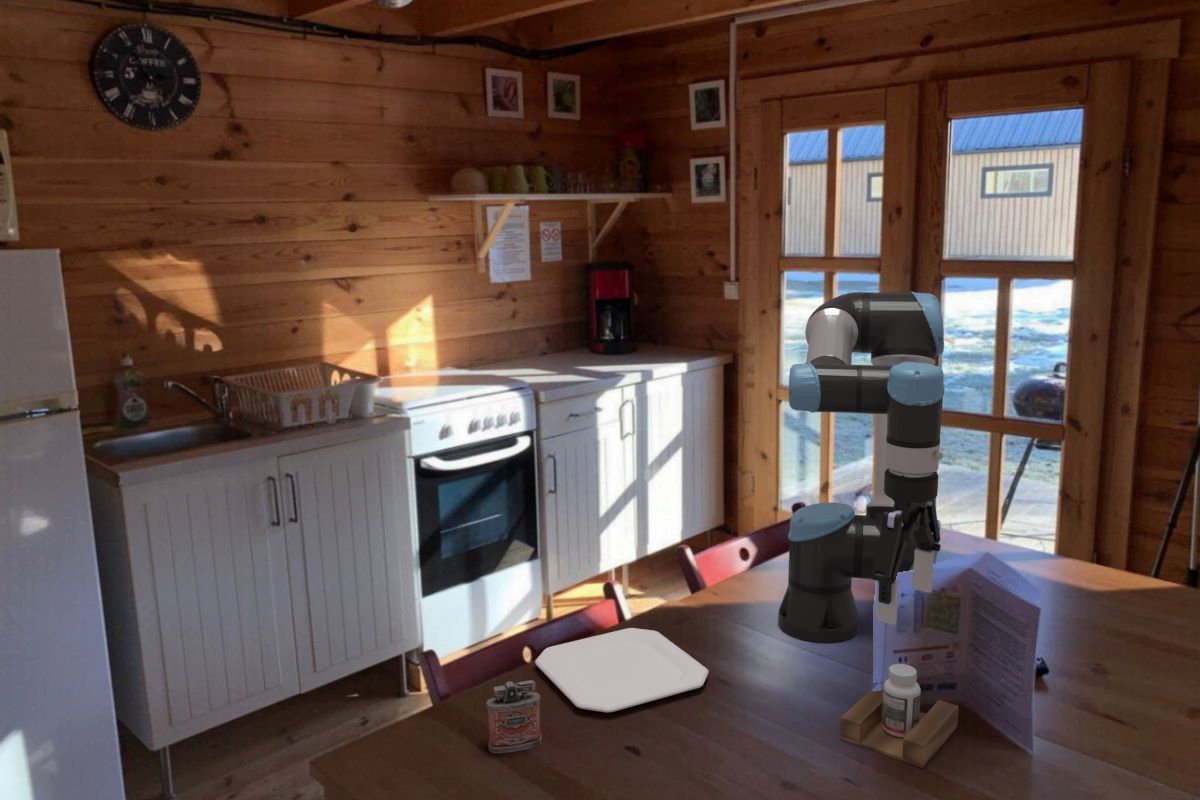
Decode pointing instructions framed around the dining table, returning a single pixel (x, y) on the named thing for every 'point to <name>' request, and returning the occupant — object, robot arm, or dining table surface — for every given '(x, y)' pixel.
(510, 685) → the lighter
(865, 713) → the groove block
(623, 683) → the plate
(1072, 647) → the dining table surface
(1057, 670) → the dining table surface
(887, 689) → the pill bottle
